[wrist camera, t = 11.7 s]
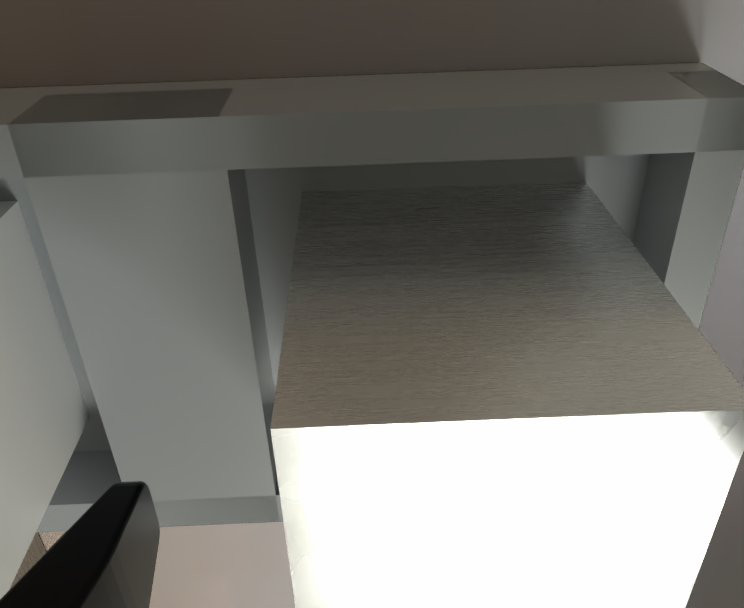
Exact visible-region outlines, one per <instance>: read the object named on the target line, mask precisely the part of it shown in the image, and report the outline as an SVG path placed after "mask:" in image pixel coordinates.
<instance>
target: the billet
mask: <svg viewBox="0 0 744 608" xmlns="http://www.w3.org/2000/svg"><path fill="white" fill-rule="evenodd" d="M271 436H272V443H273V451H274V458H275V465H276V472H277V479H278V486H279V493H280V500H281V507H282V514H283V521H284V528H285V535H286V542H287V549H288V557H289V564H290V571H291V578H292V585H293V592H294V599H295V606H296V608H686V605H687V602H688V599H689V597H690V594H691V591H692V589H693V586H694V583H695V580H696V578H697V575H698V572H699V570H700V567H701V564H702V561H703V559H704V556H705V553H706V551H707V548H708V545H709V542H710V540H711V537H712V534H713V532H714V529H715V526H716V523H717V521H718V518H719V515H720V512H721V510H722V507H723V504H724V502H725V499H726V496H727V493H728V491H729V488H730V485H731V483H732V480H733V477H734V474H735V472H736V469H737V466H738V464H739V461H740V458H741V455H742V453H743V450H744V389H743V388H742V386H741V385H740V384H739V383H738V381H737V380H736V379H735V377H734V376H733V375H732V373H731V372H730V371H729V369H728V368H727V367H726V365H725V364H724V363H723V361H722V360H721V359H720V357H719V356H718V355H717V354H716V352H715V351H714V350H713V348H712V347H711V346H710V344H709V343H708V342H707V340H706V339H705V338H704V336H703V335H702V334H701V332H700V331H699V330H698V329H697V327H696V326H695V325H694V323H693V322H692V321H691V319H690V318H689V317H688V315H687V314H686V313H685V311H684V310H683V309H682V307H681V306H680V305H679V304H678V302H677V301H676V300H675V298H674V297H673V296H672V294H671V293H670V292H669V290H668V289H667V288H666V286H665V285H664V284H663V282H662V281H661V280H660V279H659V277H658V276H657V275H656V273H655V272H654V271H653V269H652V268H651V267H650V265H649V264H648V263H647V261H646V260H645V259H644V257H643V256H642V255H641V254H640V252H639V251H638V250H637V248H636V247H635V246H634V244H633V243H632V242H631V240H630V239H629V238H628V236H627V235H626V234H625V232H624V231H623V230H622V229H621V227H620V226H619V225H618V223H617V222H616V221H615V219H614V218H613V217H612V215H611V214H610V213H609V211H608V210H607V209H606V207H605V206H604V205H603V204H602V202H601V201H600V200H599V198H598V197H597V196H596V194H595V193H594V192H593V190H592V189H591V188H590V186H589V185H588V184H587V182H565V183H537V184H510V185H482V186H454V187H427V188H399V189H372V190H344V191H317V192H302V197H301V205H300V212H299V220H298V227H297V235H296V242H295V249H294V257H293V264H292V272H291V279H290V287H289V294H288V302H287V309H286V317H285V324H284V332H283V339H282V346H281V354H280V361H279V369H278V376H277V384H276V391H275V399H274V406H273V414H272V421H271Z"/></svg>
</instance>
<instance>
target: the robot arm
mask: <svg viewBox="0 0 744 608" xmlns="http://www.w3.org/2000/svg"><path fill="white" fill-rule="evenodd" d="M159 536H160V527H159V520H158V517H157V513H156V510H155V506H154V503H153V500H152V496H151V493H150V489H149V487H148V485H147V484H146V483H145V482H142V481H130V482H117V483H115V484H113V485H111V486H110V487H109V488H108V489H107V490H106V491H105V492H104V493H103V494H102V495H101V496H100V497H99V498H98V499H97V500H96V501H95V502H94V503H93V505H92V506H91V507H90V508H89V509H88V510H87V511H86V512H85V513H84V514H83V515H82V516H81V517H80V518H79V519H78V520H77V521H76V522H75V523H74V524H73V525H72V526H71V527H70V528H69V529H68V530H67V531H66V532H65V533H64V534H63V535H62V536H61V537H60V538H59V539H58V540H57V541H56V542H55V544H54V545H53V546H52V547H51V548H50V549H49V550H48V551H47V552H46V553H45V554H44V555H43V556H42V557H41V558H40V559H39V560H38V561H37V562H36V563H35V564H34V565H33V566H32V567H31V568H30V569H29V570H28V571H27V572H26V573H25V574H24V575H23V576H22V577H21V578H20V579H19V580H18V581H17V583H16V584H15V585H14V586H13V587H12V588H11V589H10V590H9V591H8V592H7V593H6V594H5V595H4V596H3V597H2V598H1V599H0V608H149V604H150V597H151V591H152V584H153V578H154V571H155V564H156V558H157V551H158V544H159Z"/></svg>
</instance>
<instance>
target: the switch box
mask: <svg viewBox="0 0 744 608" xmlns="http://www.w3.org/2000/svg"><path fill="white" fill-rule="evenodd" d="M45 553H46V550H45V548H44V546H43V543H42V541H41V539H40V537H39V534H38V532H37V533H35V535H34V537H33V540H32V542H31V544H30V546H29V548H28V550H27V552H26V555H25V557H24V559H23V561H22V563H21V565H20V567H19V570H18V572H17V574H16V576H15V578H14V580H13V583H12V585H11V587H10V589H11V588H12V587H13V586H14V585H15V584H16V583H17V581H18V580H19V579H20V578H21V577H22V576H23V575H24V574H25V573H26V572H27V571H28V570H29V569H30V568H31V567H32V566H33V565H34V564H35V563H36V562H37V561H38V560H39V559H40V558H41V557H42V556H43V555H44V554H45ZM10 589H9V590H10Z"/></svg>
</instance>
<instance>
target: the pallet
mask: <svg viewBox="0 0 744 608" xmlns="http://www.w3.org/2000/svg"><path fill="white" fill-rule="evenodd" d="M743 167H744V86H743V85H742V84H740V83H738V82H736V81H734V80H733V79H731V78H729V77H727V76H725V75H723V74H722V73H720V72H718V71H716V70H714V69H713V68H711V67H709V66H707V65H705V64H704V63H682V64H655V65H627V66H600V67H572V68H545V69H517V70H490V71H463V72H435V73H408V74H380V75H353V76H325V77H298V78H270V79H243V80H216V81H188V82H161V83H133V84H106V85H78V86H51V87H24V88H0V599H1V598H2V597H3V596H4V595H5V594H6V593H7V592H8V591H9V589H10V587H11V585H12V583H13V580H14V578H15V576H16V574H17V572H18V570H19V567H20V565H21V563H22V561H23V559H24V557H25V555H26V552H27V550H28V548H29V546H30V544H31V542H32V540H33V537H34V535H35V533H37V532H60V531H67V530H68V529H69V528H70V527H71V526H72V525H73V524H74V523H75V522H76V521H77V520H78V519H79V518H80V517H81V516H82V515H83V514H84V513H85V512H86V511H87V510H88V509H89V508H90V507H91V506H92V505H93V503H94V502H95V501H96V500H97V499H98V498H99V497H100V496H101V495H102V494H103V493H104V492H105V491H106V490H107V489H108V488H109V487H110V486H111V485H113V484H115V483H117V482H130V481H142V482H145V483H146V484H147V485H148V487H149V489H150V493H151V496H152V500H153V503H154V506H155V510H156V513H157V517H158V520H159V527H173V526H195V525H218V524H240V523H263V522H284V521H283V514H282V507H281V500H280V493H279V486H278V479H277V472H276V465H275V458H274V451H273V443H272V436H271V421H272V414H273V406H274V399H275V391H276V384H277V376H278V369H279V361H280V354H281V346H282V339H283V332H284V324H285V317H286V309H287V302H288V294H289V287H290V279H291V272H292V264H293V257H294V249H295V242H296V235H297V227H298V220H299V212H300V205H301V197H302V192H317V191H344V190H372V189H399V188H427V187H454V186H482V185H510V184H537V183H565V182H587V184H588V185H589V186H590V188H591V189H592V190H593V192H594V193H595V194H596V196H597V197H598V198H599V200H600V201H601V202H602V204H603V205H604V206H605V207H606V209H607V210H608V211H609V213H610V214H611V215H612V217H613V218H614V219H615V221H616V222H617V223H618V225H619V226H620V227H621V229H622V230H623V231H624V232H625V234H626V235H627V236H628V238H629V239H630V240H631V242H632V243H633V244H634V246H635V247H636V248H637V250H638V251H639V252H640V254H641V255H642V256H643V257H644V259H645V260H646V261H647V263H648V264H649V265H650V267H651V268H652V269H653V271H654V272H655V273H656V275H657V276H658V277H659V279H660V280H661V281H662V282H663V284H664V285H665V286H666V288H667V289H668V290H669V292H670V293H671V294H672V296H673V297H674V298H675V300H676V301H677V302H678V304H679V305H680V306H681V307H682V309H683V310H684V311H685V313H686V314H687V315H688V317H689V318H690V319H691V321H692V322H693V323H694V325H695V326H696V327H697V329H698V328H699V325H700V321H701V317H702V314H703V310H704V307H705V303H706V300H707V296H708V292H709V289H710V285H711V282H712V278H713V275H714V271H715V267H716V264H717V260H718V257H719V253H720V249H721V246H722V242H723V239H724V235H725V232H726V228H727V224H728V221H729V217H730V214H731V210H732V206H733V203H734V199H735V196H736V192H737V189H738V185H739V181H740V178H741V174H742V171H743Z"/></svg>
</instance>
